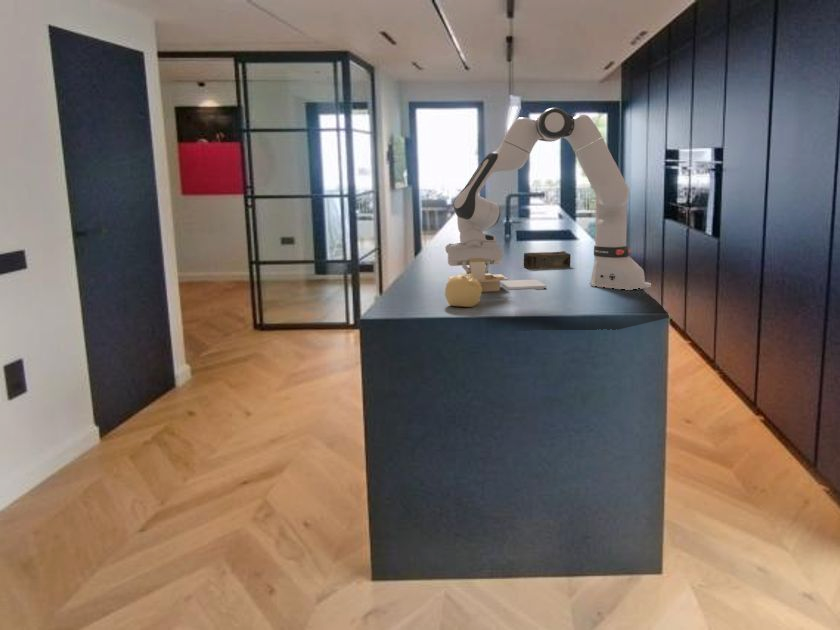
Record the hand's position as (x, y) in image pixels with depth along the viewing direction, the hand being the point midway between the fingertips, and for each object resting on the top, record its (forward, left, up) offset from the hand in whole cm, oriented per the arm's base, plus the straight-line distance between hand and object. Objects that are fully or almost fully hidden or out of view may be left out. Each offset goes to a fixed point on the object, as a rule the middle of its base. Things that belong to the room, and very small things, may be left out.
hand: (477, 272), depth 272 cm
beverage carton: (+22, -58, -7) cm, 62 cm away
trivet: (-5, -17, -6) cm, 19 cm away
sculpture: (-18, +22, -7) cm, 29 cm away
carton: (+1, 0, -6) cm, 6 cm away
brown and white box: (+1, 0, -6) cm, 6 cm away
